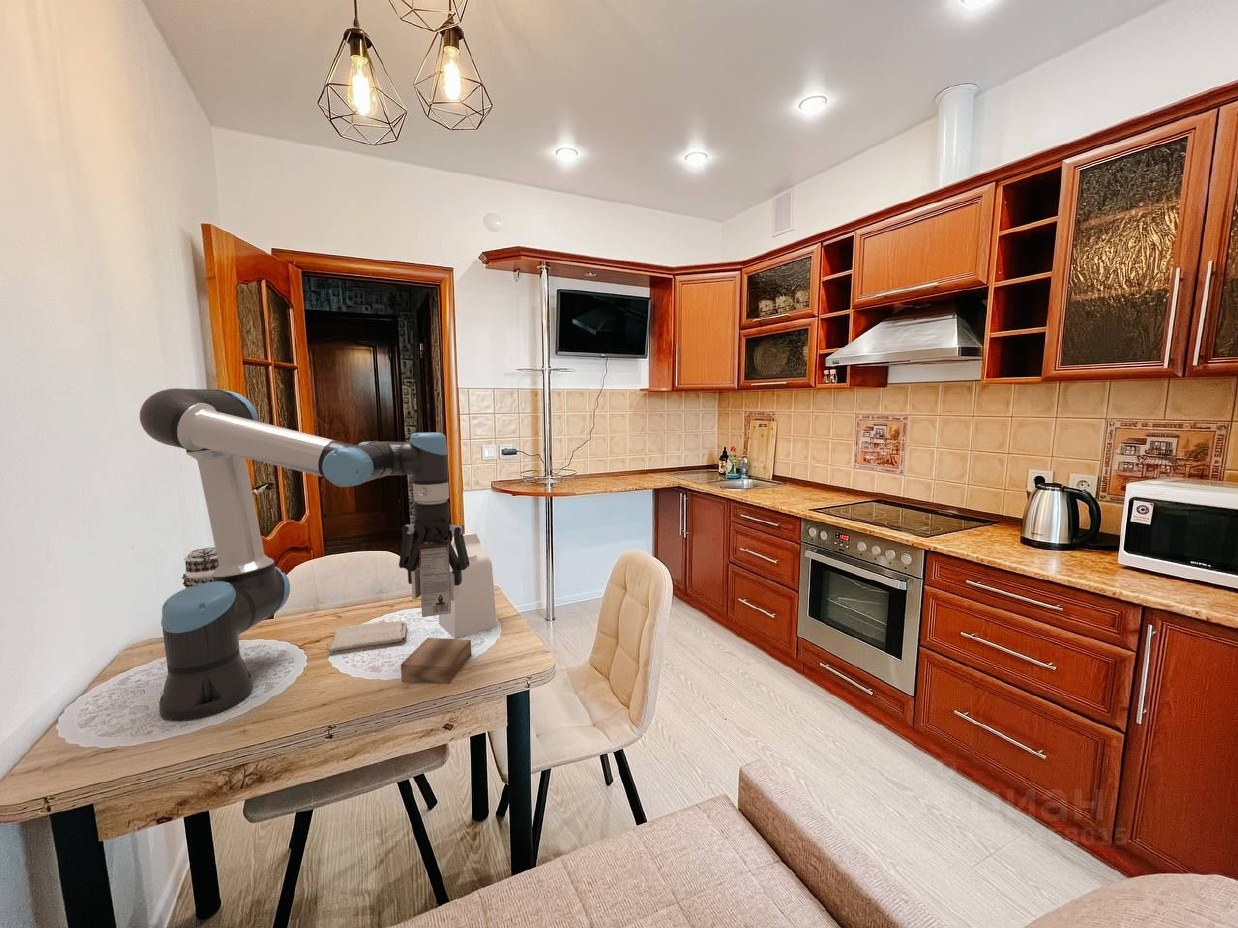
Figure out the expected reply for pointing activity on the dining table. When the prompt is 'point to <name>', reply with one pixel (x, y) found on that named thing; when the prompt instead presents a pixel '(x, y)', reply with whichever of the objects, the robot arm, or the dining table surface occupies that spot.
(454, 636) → the milk
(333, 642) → the washcloth
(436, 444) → the robot arm
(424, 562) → the coffee box
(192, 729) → the dining table surface
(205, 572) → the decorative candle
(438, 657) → the pedestal
